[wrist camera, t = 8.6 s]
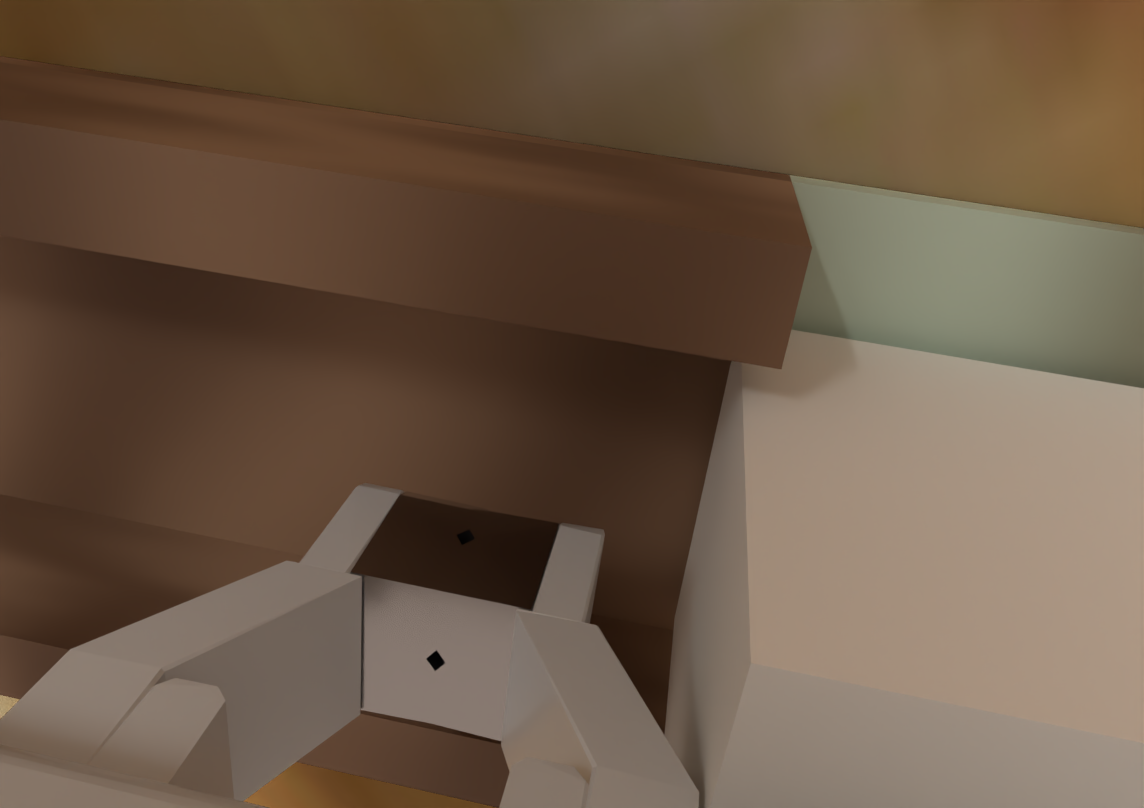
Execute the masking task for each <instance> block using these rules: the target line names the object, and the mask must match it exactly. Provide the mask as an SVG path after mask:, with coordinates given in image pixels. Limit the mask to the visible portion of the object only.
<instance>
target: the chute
mask: <svg viewBox="0 0 1144 808" xmlns="http://www.w3.org/2000/svg"><path fill="white" fill-rule="evenodd" d="M791 330H797V331H803V332H809V333H815V334H821V335H827V336H833V337H839V338H845V339H851V340H857V341H863V342H869V343H875V344H881V345H887V346H893V347H899V348H905V349H911V350H917V351H923V352H929V353H935V354H941V355H947V356H953V357H959V358H965V359H971V360H977V361H983V362H989V363H995V364H1001V365H1007V366H1013V367H1019V368H1025V369H1031V370H1037V371H1043V372H1049V373H1055V374H1061V375H1067V376H1073V377H1078V378H1084V379H1090V380H1096V381H1102V382H1108V383H1114V384H1120V385H1126V386H1132V387H1138V388H1144V228H1139V227H1132V226H1126V225H1119V224H1112V223H1106V222H1099V221H1092V220H1086V219H1079V218H1073V217H1066V216H1059V215H1053V214H1046V213H1039V212H1033V211H1026V210H1019V209H1013V208H1006V207H999V206H993V205H986V204H979V203H973V202H966V201H959V200H953V199H946V198H940V197H933V196H926V195H920V194H913V193H906V192H900V191H893V190H886V189H880V188H873V187H866V186H860V185H853V184H846V183H840V182H833V181H826V180H820V179H813V178H807V177H800V176H793V175H787V174H780V173H773V172H767V171H760V170H753V169H747V168H740V167H733V166H727V165H720V164H713V163H707V162H700V161H694V160H687V159H680V158H674V157H667V156H660V155H654V154H647V153H640V152H634V151H627V150H620V149H614V148H607V147H600V146H594V145H587V144H580V143H574V142H567V141H561V140H554V139H547V138H541V137H534V136H527V135H521V134H514V133H507V132H501V131H494V130H487V129H481V128H474V127H467V126H461V125H454V124H447V123H441V122H434V121H428V120H421V119H414V118H408V117H401V116H394V115H388V114H381V113H374V112H368V111H361V110H354V109H348V108H341V107H334V106H328V105H321V104H314V103H308V102H301V101H295V100H288V99H281V98H275V97H268V96H261V95H255V94H248V93H241V92H235V91H228V90H221V89H215V88H208V87H201V86H195V85H188V84H182V83H175V82H168V81H162V80H155V79H148V78H142V77H135V76H128V75H122V74H115V73H108V72H102V71H95V70H88V69H82V68H75V67H68V66H62V65H55V64H49V63H42V62H35V61H29V60H22V59H15V58H9V57H2V56H0V695H3V696H8V697H12V698H17V699H21V698H22V697H23V696H24V695H25V694H26V693H27V692H28V691H29V690H30V689H31V688H32V687H33V686H34V685H35V684H36V683H37V682H38V681H39V680H40V679H41V678H42V677H43V676H44V675H45V674H46V673H47V672H48V671H49V670H50V669H51V668H52V667H53V666H54V665H55V664H56V663H57V662H58V661H59V660H60V659H61V658H62V657H63V656H64V655H65V654H66V653H67V652H68V651H69V650H70V649H72V648H75V647H77V646H80V645H82V644H84V643H87V642H89V641H92V640H94V639H97V638H99V637H102V636H104V635H106V634H109V633H111V632H114V631H116V630H119V629H121V628H123V627H126V626H128V625H131V624H133V623H136V622H138V621H141V620H143V619H145V618H148V617H150V616H153V615H155V614H158V613H160V612H162V611H165V610H167V609H170V608H172V607H175V606H177V605H180V604H182V603H184V602H187V601H189V600H192V599H194V598H197V597H199V596H201V595H204V594H206V593H209V592H211V591H214V590H216V589H219V588H221V587H223V586H226V585H228V584H231V583H233V582H236V581H238V580H241V579H243V578H245V577H248V576H250V575H253V574H255V573H258V572H260V571H262V570H265V569H267V568H270V567H272V566H275V565H277V564H280V563H282V562H284V561H292V562H297V563H300V561H301V560H302V559H303V557H304V556H305V555H306V553H307V552H308V551H309V549H310V548H311V546H312V545H313V544H314V542H315V541H316V540H317V538H318V537H319V536H320V534H321V533H322V532H323V530H324V529H325V528H326V526H327V525H328V524H329V522H330V521H331V520H332V518H333V517H334V516H335V514H336V513H337V512H338V510H339V509H340V508H341V506H342V505H343V504H344V502H345V501H346V500H347V498H348V497H349V496H350V494H351V493H352V492H353V490H354V489H355V488H356V487H357V486H358V485H361V484H364V483H368V484H373V485H378V486H383V487H388V488H393V489H399V490H402V491H404V492H406V491H408V492H412V493H417V494H421V495H426V496H431V497H435V498H440V499H444V500H449V501H453V502H458V503H462V504H467V505H471V506H476V507H480V508H485V509H488V510H490V511H496V512H501V513H507V514H512V515H517V516H523V517H528V518H534V519H539V520H545V521H550V522H555V523H560V524H562V523H567V524H573V525H579V526H585V527H591V528H597V529H603V530H604V533H605V538H604V544H603V550H602V556H601V562H600V567H599V573H598V579H597V585H596V590H595V596H594V602H593V608H592V614H591V619H590V624H593V625H597V626H598V627H599V628H600V630H601V632H602V633H603V635H604V637H605V638H606V640H607V642H608V643H609V645H610V647H611V648H612V650H613V652H614V653H615V655H616V656H617V658H618V660H619V661H620V663H621V665H622V666H623V668H624V670H625V671H626V673H627V675H628V676H629V678H630V679H631V681H632V683H633V684H634V686H635V688H636V689H637V691H638V693H639V694H640V696H641V698H642V699H643V701H644V702H645V704H646V706H647V707H648V709H649V711H650V712H651V714H652V716H653V717H654V719H655V721H656V722H657V724H658V725H659V727H660V729H661V730H662V732H663V734H665V722H666V711H667V699H668V687H669V676H670V664H671V653H672V641H673V630H674V618H675V613H676V609H677V604H678V600H679V595H680V591H681V586H682V582H683V577H684V573H685V568H686V564H687V559H688V555H689V550H690V546H691V541H692V537H693V532H694V528H695V523H696V519H697V514H698V509H699V505H700V500H701V496H702V491H703V487H704V482H705V478H706V473H707V469H708V464H709V460H710V455H711V451H712V446H713V442H714V437H715V433H716V428H717V424H718V419H719V415H720V410H721V406H722V401H723V396H724V392H725V387H726V383H727V378H728V374H729V369H730V365H731V361H735V362H741V363H746V364H752V365H758V366H764V367H770V368H776V369H782V365H783V361H784V357H785V353H786V349H787V345H788V341H789V337H790V333H791ZM297 762H299V763H304V764H308V765H312V766H317V767H321V768H326V769H330V770H335V771H339V772H343V773H348V774H352V775H357V776H361V777H365V778H370V779H374V780H379V781H383V782H388V783H392V784H396V785H401V786H405V787H410V788H414V789H418V790H423V791H427V792H432V793H436V794H441V795H445V796H449V797H454V798H458V799H463V800H467V801H471V802H476V803H480V804H485V805H489V806H493V807H498V808H499V806H500V803H501V800H502V796H503V793H504V790H505V786H506V783H507V780H508V776H509V773H510V772H509V769H508V765H507V762H506V759H505V756H504V753H503V750H502V747H501V741H498V740H494V739H490V738H487V737H483V736H479V735H475V734H471V733H467V732H463V731H459V730H455V729H451V728H447V727H443V726H439V725H435V724H431V723H426V722H421V721H416V720H411V719H405V718H400V717H395V716H390V715H385V714H380V713H375V712H369V711H364V710H360V715H359V716H358V717H356V718H355V719H354V720H352V721H351V722H349V723H348V724H347V725H345V726H344V727H343V728H341V729H340V730H339V731H337V732H336V733H335V734H333V735H332V736H331V737H329V738H328V739H326V740H325V741H324V742H322V743H321V744H320V745H318V746H317V747H316V748H314V749H313V750H312V751H310V752H309V753H308V754H306V755H305V756H303V757H302V758H301V759H299V760H298V761H297Z"/></svg>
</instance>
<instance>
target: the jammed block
mask: <svg viewBox="0 0 1144 808" xmlns="http://www.w3.org/2000/svg"><path fill="white" fill-rule="evenodd" d="M664 735H665V737H666V739H667V740H668V742H669V744H670V745H671V747H672V748H673V750H674V752H675V753H676V755H677V757H678V758H679V760H680V762H681V763H682V765H683V767H684V768H685V770H686V771H687V773H688V775H689V776H690V778H691V780H692V781H693V783H694V785H695V786H696V788H697V790H698V791H699V808H1144V388H1138V387H1132V386H1126V385H1120V384H1114V383H1108V382H1102V381H1096V380H1090V379H1084V378H1078V377H1073V376H1067V375H1061V374H1055V373H1049V372H1043V371H1037V370H1031V369H1025V368H1019V367H1013V366H1007V365H1001V364H995V363H989V362H983V361H977V360H971V359H965V358H959V357H953V356H947V355H941V354H935V353H929V352H923V351H917V350H911V349H905V348H899V347H893V346H887V345H881V344H875V343H869V342H863V341H857V340H851V339H845V338H839V337H833V336H827V335H821V334H815V333H809V332H803V331H797V330H791V333H790V337H789V341H788V345H787V349H786V353H785V357H784V361H783V365H782V369H776V368H770V367H764V366H758V365H752V364H746V363H741V362H735V361H731V365H730V369H729V374H728V378H727V383H726V387H725V392H724V396H723V401H722V406H721V410H720V415H719V419H718V424H717V428H716V433H715V437H714V442H713V446H712V451H711V455H710V460H709V464H708V469H707V473H706V478H705V482H704V487H703V491H702V496H701V500H700V505H699V509H698V514H697V519H696V523H695V528H694V532H693V537H692V541H691V546H690V550H689V555H688V559H687V564H686V568H685V573H684V577H683V582H682V586H681V591H680V595H679V600H678V604H677V609H676V613H675V618H674V630H673V641H672V653H671V664H670V676H669V687H668V699H667V711H666V722H665V734H664Z"/></svg>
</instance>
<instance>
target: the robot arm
mask: <svg viewBox="0 0 1144 808" xmlns="http://www.w3.org/2000/svg"><path fill="white" fill-rule="evenodd" d="M604 538H605V533H604V530H603V529H597V528H591V527H585V526H579V525H573V524H567V523H562V524H560V523H555V522H550V521H545V520H539V519H534V518H528V517H523V516H517V515H512V514H507V513H501V512H496V511H490V510H488V509H485V508H480V507H476V506H471V505H467V504H462V503H458V502H453V501H449V500H444V499H440V498H435V497H431V496H426V495H421V494H417V493H412V492H408V491H406V492H404V491H402V490H399V489H393V488H388V487H383V486H378V485H373V484H368V483H364V484H361V485H358V486H357V487H356V488H355V489H354V490H353V492H352V493H351V494H350V496H349V497H348V498H347V500H346V501H345V502H344V504H343V505H342V506H341V508H340V509H339V510H338V512H337V513H336V514H335V516H334V517H333V518H332V520H331V521H330V522H329V524H328V525H327V526H326V528H325V529H324V530H323V532H322V533H321V534H320V536H319V537H318V538H317V540H316V541H315V542H314V544H313V545H312V546H311V548H310V549H309V551H308V552H307V553H306V555H305V556H304V557H303V559H302V560H301V561H300V563H297V562H292V561H284V562H282V563H280V564H277V565H275V566H272V567H270V568H267V569H265V570H262V571H260V572H258V573H255V574H253V575H250V576H248V577H245V578H243V579H241V580H238V581H236V582H233V583H231V584H228V585H226V586H223V587H221V588H219V589H216V590H214V591H211V592H209V593H206V594H204V595H201V596H199V597H197V598H194V599H192V600H189V601H187V602H184V603H182V604H180V605H177V606H175V607H172V608H170V609H167V610H165V611H162V612H160V613H158V614H155V615H153V616H150V617H148V618H145V619H143V620H141V621H138V622H136V623H133V624H131V625H128V626H126V627H123V628H121V629H119V630H116V631H114V632H111V633H109V634H106V635H104V636H102V637H99V638H97V639H94V640H92V641H89V642H87V643H84V644H82V645H80V646H77V647H75V648H72V649H70V650H69V651H68V652H67V653H66V654H65V655H64V656H63V657H62V658H61V659H60V660H59V661H58V662H57V663H56V664H55V665H54V666H53V667H52V668H51V669H50V670H49V671H48V672H47V673H46V674H45V675H44V676H43V677H42V678H41V679H40V680H39V681H38V682H37V683H36V684H35V685H34V686H33V687H32V688H31V689H30V690H29V691H28V692H27V693H26V694H25V695H24V696H23V697H22V698H21V699H20V700H19V701H18V702H17V703H16V704H15V705H14V706H13V707H12V708H11V709H10V710H9V711H8V712H7V713H6V714H5V715H4V716H3V717H2V718H1V719H0V808H268V807H264V806H260V805H256V804H252V803H247V802H243V801H244V800H245V799H247V798H248V797H249V796H251V795H252V794H253V793H255V792H256V791H258V790H259V789H260V788H262V787H263V786H264V785H266V784H267V783H268V782H270V781H271V780H272V779H274V778H275V777H276V776H278V775H279V774H281V773H282V772H283V771H285V770H286V769H287V768H289V767H290V766H291V765H293V764H294V763H295V762H297V761H298V760H299V759H301V758H302V757H303V756H305V755H306V754H308V753H309V752H310V751H312V750H313V749H314V748H316V747H317V746H318V745H320V744H321V743H322V742H324V741H325V740H326V739H328V738H329V737H331V736H332V735H333V734H335V733H336V732H337V731H339V730H340V729H341V728H343V727H344V726H345V725H347V724H348V723H349V722H351V721H352V720H354V719H355V718H356V717H358V716H359V715H360V710H364V711H369V712H375V713H380V714H385V715H390V716H395V717H400V718H405V719H411V720H416V721H421V722H426V723H431V724H435V725H439V726H443V727H447V728H451V729H455V730H459V731H463V732H467V733H471V734H475V735H479V736H483V737H487V738H490V739H494V740H498V741H501V747H502V750H503V753H504V756H505V759H506V762H507V765H508V769H509V772H510V773H509V776H508V780H507V783H506V786H505V790H504V793H503V796H502V800H501V803H500V806H499V808H699V791H698V790H697V788H696V786H695V785H694V783H693V781H692V780H691V778H690V776H689V775H688V773H687V771H686V770H685V768H684V767H683V765H682V763H681V762H680V760H679V758H678V757H677V755H676V753H675V752H674V750H673V748H672V747H671V745H670V744H669V742H668V740H667V739H666V737H665V735H664V734H663V732H662V730H661V729H660V727H659V725H658V724H657V722H656V721H655V719H654V717H653V716H652V714H651V712H650V711H649V709H648V707H647V706H646V704H645V702H644V701H643V699H642V698H641V696H640V694H639V693H638V691H637V689H636V688H635V686H634V684H633V683H632V681H631V679H630V678H629V676H628V675H627V673H626V671H625V670H624V668H623V666H622V665H621V663H620V661H619V660H618V658H617V656H616V655H615V653H614V652H613V650H612V648H611V647H610V645H609V643H608V642H607V640H606V638H605V637H604V635H603V633H602V632H601V630H600V628H599V627H598V626H597V625H593V624H590V619H591V614H592V608H593V602H594V596H595V590H596V585H597V579H598V573H599V567H600V562H601V556H602V550H603V544H604Z"/></svg>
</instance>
